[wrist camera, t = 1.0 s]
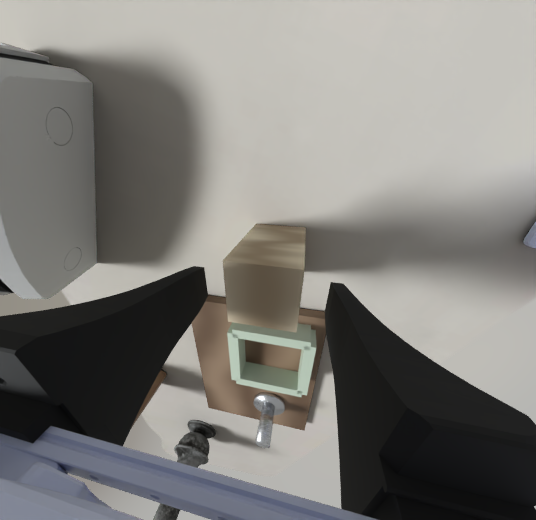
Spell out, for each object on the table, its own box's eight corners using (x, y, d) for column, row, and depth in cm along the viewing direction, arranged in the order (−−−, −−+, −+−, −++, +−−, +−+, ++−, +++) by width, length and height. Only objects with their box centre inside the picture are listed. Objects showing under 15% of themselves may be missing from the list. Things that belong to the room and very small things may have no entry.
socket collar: (316, 326, 18) (317, 343, 16) (306, 379, 21) (306, 398, 19) (234, 313, 19) (226, 328, 17) (237, 365, 22) (231, 382, 21)
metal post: (285, 396, 23) (281, 440, 20) (283, 413, 25) (279, 457, 21) (254, 389, 24) (244, 430, 20) (254, 406, 26) (245, 447, 22)
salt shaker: (216, 440, 35) (177, 559, 24) (187, 431, 36) (136, 543, 25) (217, 425, 32) (173, 551, 22) (185, 415, 33) (127, 533, 22)
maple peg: (305, 227, 15) (304, 269, 9) (300, 271, 17) (296, 332, 11) (256, 223, 16) (222, 260, 9) (256, 266, 17) (228, 321, 11)
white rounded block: (24, 44, 13) (-340, -108, 5) (106, 83, 15) (-64, 19, 6) (54, 244, 21) (-65, 318, 13) (105, 256, 22) (28, 329, 14)
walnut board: (327, 312, 18) (329, 319, 17) (304, 421, 27) (304, 430, 26) (192, 292, 20) (186, 298, 19) (211, 400, 29) (208, 407, 28)
